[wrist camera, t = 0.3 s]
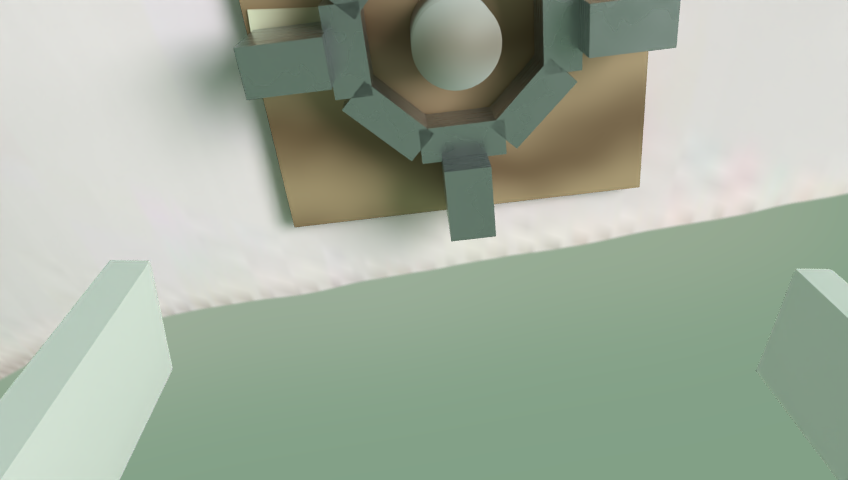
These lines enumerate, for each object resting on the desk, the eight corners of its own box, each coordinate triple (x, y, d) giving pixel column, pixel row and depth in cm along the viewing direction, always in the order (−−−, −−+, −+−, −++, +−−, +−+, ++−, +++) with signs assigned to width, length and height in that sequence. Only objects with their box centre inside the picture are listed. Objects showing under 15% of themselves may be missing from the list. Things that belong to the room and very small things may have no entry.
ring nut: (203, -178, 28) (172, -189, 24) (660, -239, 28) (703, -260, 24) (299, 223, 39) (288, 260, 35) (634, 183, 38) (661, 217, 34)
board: (200, -185, 30) (160, -201, 25) (658, -246, 29) (711, -275, 24) (297, 218, 40) (283, 263, 35) (633, 179, 40) (666, 219, 35)
